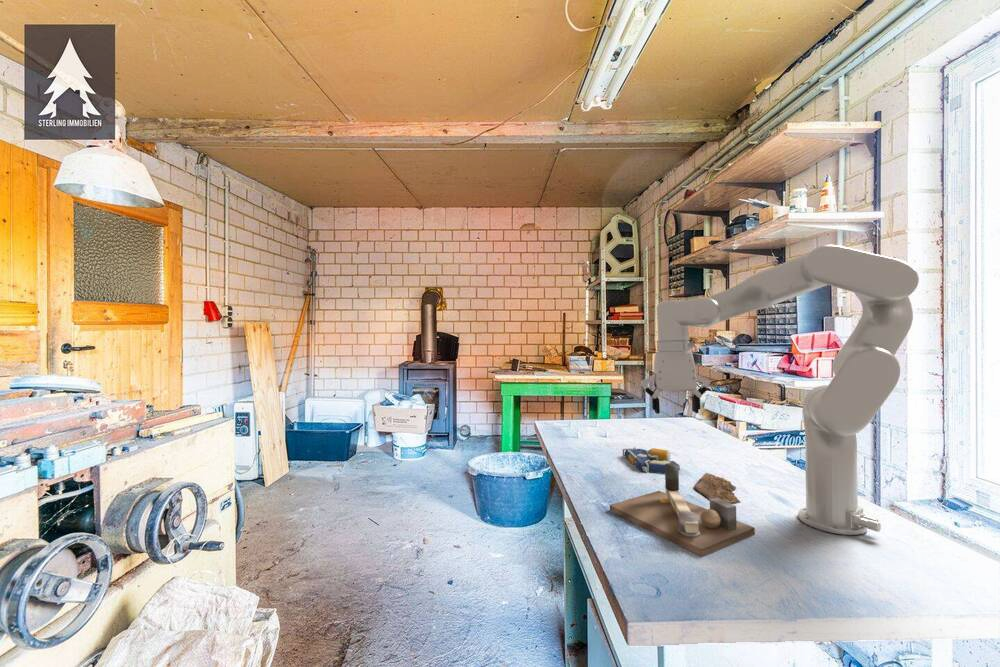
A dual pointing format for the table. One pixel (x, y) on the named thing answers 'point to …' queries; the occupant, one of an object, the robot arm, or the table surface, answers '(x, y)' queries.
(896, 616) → the table surface
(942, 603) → the table surface
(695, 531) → the lever
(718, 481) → the wooden fragment
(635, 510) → the press board
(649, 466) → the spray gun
